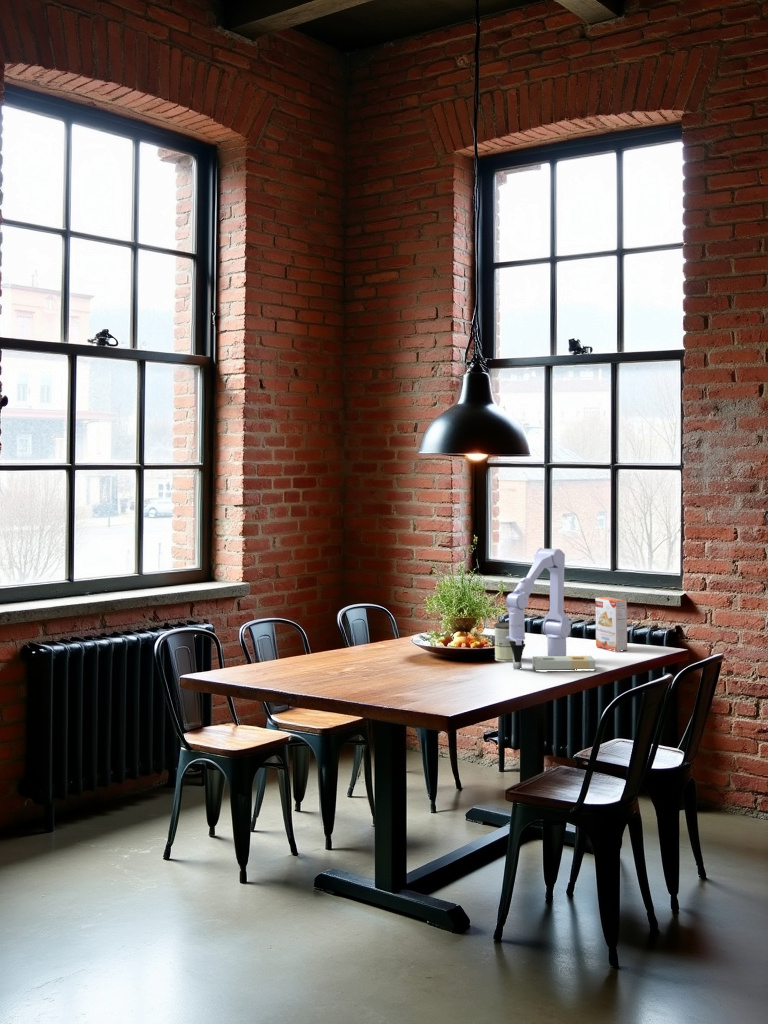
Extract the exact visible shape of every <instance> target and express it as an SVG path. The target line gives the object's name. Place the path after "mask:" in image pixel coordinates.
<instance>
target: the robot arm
mask: <svg viewBox="0 0 768 1024" xmlns="http://www.w3.org/2000/svg"><path fill="white" fill-rule="evenodd" d="M565 556H566V555H565V552H563V551H562V550H561V549H560V548H555V549H554V548H543V547H541V548H540V547H539V548H538V549H537V550H536V552H535V554H534V555H533V557H534V561H533V563H532V565H531V567H530V569H529V571H528V573H527V575H526V577H522V578H520V580H519V582H518V584H517V585H516V587H515V588H514V590H513V592H510V593H509V594H508V595H507V596H506V597H505V598H506V599H505V606H506V608H507V612H508V622H509V636H507V637H506V639H510V640H513V641H509V643H510V645H511V648H512V652H513V654H514V660H515V662H521V658H522V657H523V652H524V649H525V647H526V643H525V640H526V631H525V630H526V629H525V628H526V626H525V608H527V606H528V605H529V598H530V595H531V593H532V591H534V590H533V589H534V588H536V587H535V586H536V584H535V581H536V580H537V579H538V577H539V576H540V575H541V573H542V572H543V571H544V569H546V570H548V572H549V574H550V575H549V578H550V579H549V611H548V613H547V614H545V616H544V618H543V619H544V621H543V623H542V631H543V633H544V634H545V637H547V656H567V638H568V637H569V635H570V634H571V622H570V617H569V616H568V615H567V614H566V613H565V612H564V598H565V593H564V592H565V566H566V565H565V558H566V557H565Z"/></svg>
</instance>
